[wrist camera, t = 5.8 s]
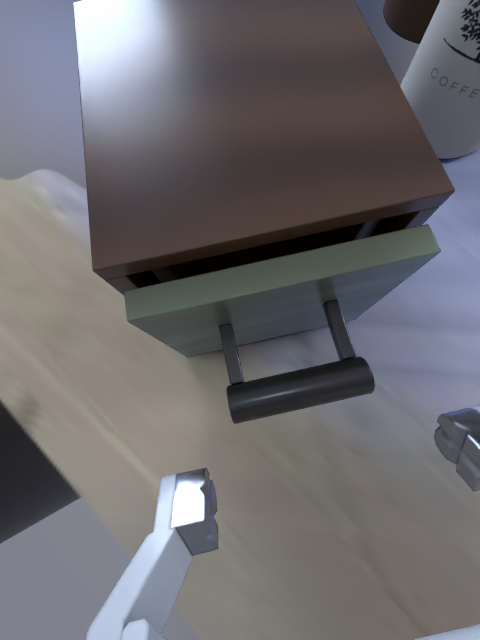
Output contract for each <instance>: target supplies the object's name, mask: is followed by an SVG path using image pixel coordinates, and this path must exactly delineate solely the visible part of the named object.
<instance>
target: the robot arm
mask: <svg viewBox="0 0 480 640" xmlns="http://www.w3.org/2000/svg"><path fill="white" fill-rule="evenodd" d="M437 422H438V424H439V425H440V426H439V427H438V428H437V429H436V430H435V433H434V439H435V443H436V446H437V447H438V449H439V451H440V452H441V453H442V455H443V456H444V457H445V458H446V459H447V460H449V461H451V462H453V463H455V464H456V471H457V473H458V474H459V475H460V476H461V477H462V479H463V480H464V481H465V482H466V483H467V484H468V486H469V487H470V488H471V489H472V490H473V491H478V490H480V406H476V407H471V408H465V409H461V410H457V411H453V412H449V413H445V414H441V415H440V416H439V417H438V420H437ZM216 512H217V498H216V490H215V486H214V483H213V481H212V480H210V479H209V471H208V469H207V467H206V468H202V469H197V470H193V471H188V472H183V473H179V474H178V473H177V474H173V475H169V476H164V477H162V480H161V482H160V488H159V494H158V501H157V508H156V514H155V521H154V528H153V533H150V534H148V535H147V537H146V538H145V540H144V542H143V543H142V545H141V546H140V548H139V549H138V551H137V553H136V554H135V556H134V557H133V559H132V561H131V562H130V564H129V565H128V567H127V569H126V570H125V572H124V573H123V575H122V577H121V578H120V580H119V581H118V583H117V584H116V586H115V588H114V589H113V591H112V592H111V594H110V596H109V597H108V599H107V600H106V602H105V604H104V605H103V607H102V608H101V610H100V612H99V613H98V615H97V616H96V618H95V620H94V621H93V623H92V624H91V626H90V628H89V629H88V633H87V637H86V640H167V639H166V638H165V637H164V636H162V634H161V633H162V631H163V628H164V626H165V624H166V621H167V619H168V616H169V614H170V612H171V609H172V607H173V605H174V602H175V600H176V597H177V595H178V593H179V590H180V588H181V585H182V583H183V581H184V578H185V576H186V573H187V571H188V569H189V566H190V564H191V562H192V559H193V557H192V556H194V555H198V554H202V553H205V552H209V551H213V550H217V549H219V547H218V524H217V522H216V520H215V518H214V516H215V514H216ZM413 640H480V624H479V625H474V626H470V627H466V628H461V629H457V630H452V631H448V632H444V633H439V634H435V635H431V636H426V637H422V638H418V639H413Z"/></svg>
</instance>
